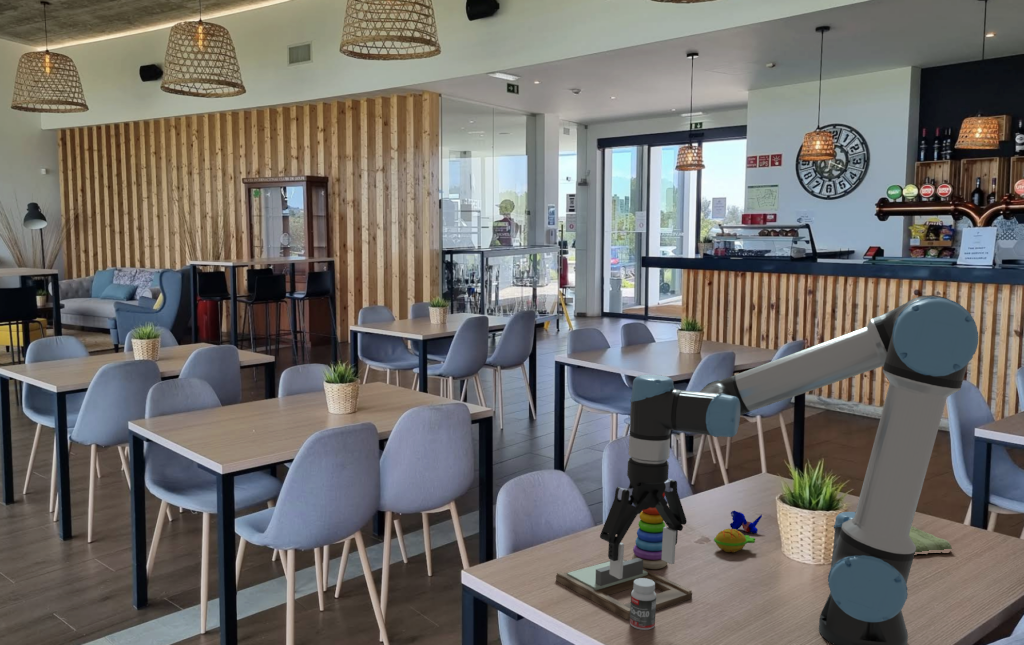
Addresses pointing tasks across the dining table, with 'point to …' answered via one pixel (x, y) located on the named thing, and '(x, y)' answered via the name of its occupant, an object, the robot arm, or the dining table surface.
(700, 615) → the dining table surface
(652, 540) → the stacking toy
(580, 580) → the lid
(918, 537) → the washcloth
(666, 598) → the wooden frame
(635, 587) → the pill bottle
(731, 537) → the toy pineapple
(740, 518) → the figurine
